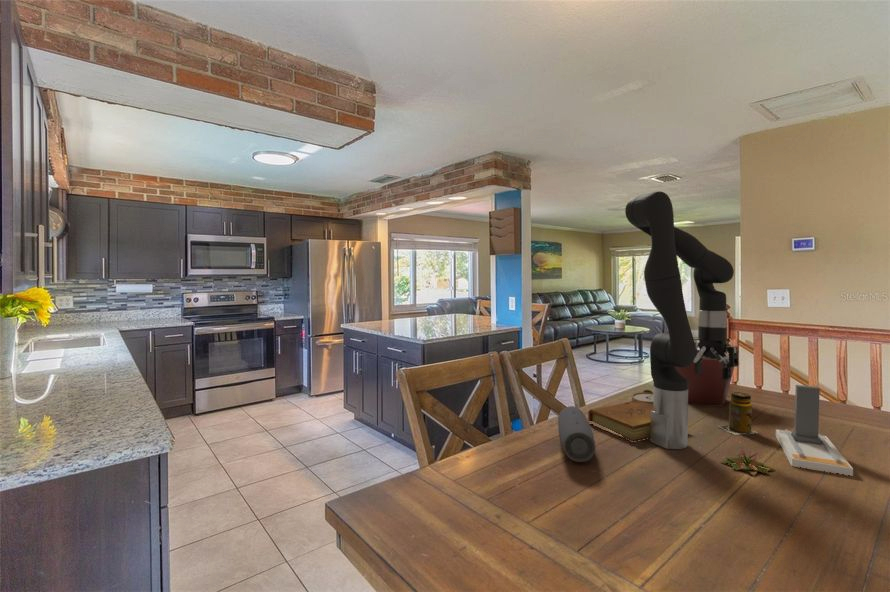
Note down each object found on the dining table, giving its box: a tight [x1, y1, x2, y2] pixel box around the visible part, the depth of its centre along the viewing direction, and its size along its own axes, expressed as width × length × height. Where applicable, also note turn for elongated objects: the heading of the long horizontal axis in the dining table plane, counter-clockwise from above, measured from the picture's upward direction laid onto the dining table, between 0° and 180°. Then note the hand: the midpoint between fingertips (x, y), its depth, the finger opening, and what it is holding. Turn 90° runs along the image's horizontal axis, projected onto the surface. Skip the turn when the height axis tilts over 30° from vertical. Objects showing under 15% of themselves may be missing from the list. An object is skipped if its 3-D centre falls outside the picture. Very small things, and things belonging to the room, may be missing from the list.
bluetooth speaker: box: [557, 405, 596, 463], centre depth 124 cm, size 23×9×10 cm, turn 168°
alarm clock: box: [629, 389, 654, 405], centre depth 166 cm, size 11×5×15 cm
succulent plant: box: [720, 449, 775, 475], centre depth 112 cm, size 12×12×5 cm
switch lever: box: [791, 384, 821, 444], centre depth 123 cm, size 4×6×16 cm, turn 60°
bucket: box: [675, 337, 739, 406], centre depth 170 cm, size 24×22×25 cm
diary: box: [587, 400, 653, 443], centre depth 142 cm, size 23×19×6 cm
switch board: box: [775, 428, 854, 477], centre depth 119 cm, size 24×12×3 cm, turn 150°
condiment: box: [716, 391, 758, 436], centre depth 137 cm, size 7×8×12 cm
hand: (712, 377), depth 131 cm, fingers open, 8 cm apart
